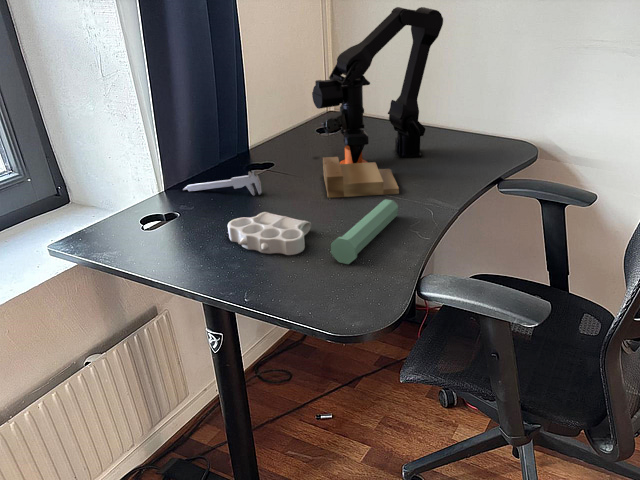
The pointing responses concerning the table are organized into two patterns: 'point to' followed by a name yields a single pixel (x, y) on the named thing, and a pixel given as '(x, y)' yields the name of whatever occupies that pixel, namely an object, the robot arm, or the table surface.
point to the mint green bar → (363, 232)
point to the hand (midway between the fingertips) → (353, 159)
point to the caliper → (230, 183)
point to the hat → (349, 159)
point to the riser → (357, 179)
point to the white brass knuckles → (269, 233)
